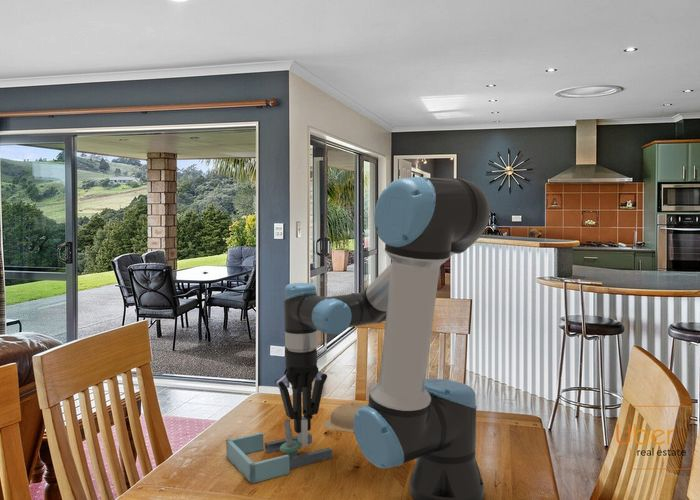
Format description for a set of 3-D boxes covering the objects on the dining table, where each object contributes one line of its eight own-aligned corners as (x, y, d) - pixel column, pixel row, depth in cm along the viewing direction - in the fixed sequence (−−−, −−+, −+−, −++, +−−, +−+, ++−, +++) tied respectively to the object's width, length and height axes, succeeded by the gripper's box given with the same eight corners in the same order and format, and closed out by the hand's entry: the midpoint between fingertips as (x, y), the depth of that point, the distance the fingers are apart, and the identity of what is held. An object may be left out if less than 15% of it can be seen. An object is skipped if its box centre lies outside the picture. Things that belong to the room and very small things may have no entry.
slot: (332, 457, 138) (332, 449, 137) (285, 470, 131) (285, 461, 131) (309, 440, 148) (309, 432, 148) (265, 451, 142) (265, 443, 142)
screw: (306, 452, 140) (292, 461, 136) (290, 448, 142) (276, 457, 138) (301, 416, 138) (287, 425, 134) (285, 413, 141) (271, 421, 137)
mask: (325, 391, 167) (431, 396, 163) (326, 415, 168) (430, 420, 163) (314, 408, 153) (429, 414, 148) (314, 433, 153) (429, 440, 148)
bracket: (289, 473, 130) (289, 456, 129) (251, 483, 125) (250, 465, 125) (262, 448, 143) (261, 432, 143) (226, 456, 139) (226, 440, 138)
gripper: (318, 341, 145) (319, 433, 147) (269, 348, 138) (271, 444, 140) (332, 347, 138) (333, 444, 140) (282, 355, 132) (284, 456, 134)
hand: (302, 444), depth 140 cm, fingers closed
